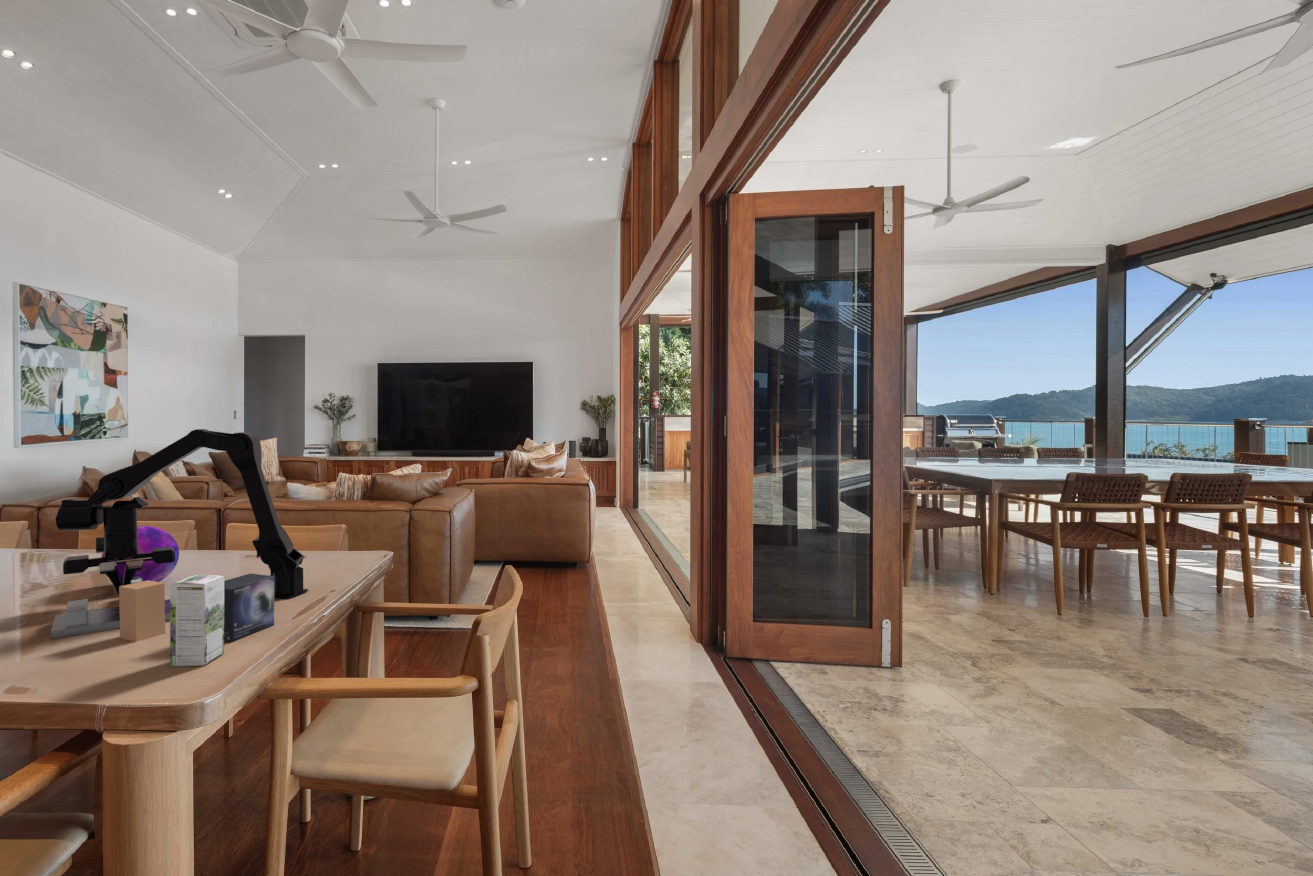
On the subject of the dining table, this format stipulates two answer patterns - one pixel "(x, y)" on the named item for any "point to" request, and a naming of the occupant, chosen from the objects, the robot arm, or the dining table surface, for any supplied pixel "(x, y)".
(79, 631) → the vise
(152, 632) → the tan rectangular block
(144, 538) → the decorative orb
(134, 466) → the robot arm
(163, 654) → the dining table surface
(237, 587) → the small box
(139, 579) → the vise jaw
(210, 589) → the syrup box
